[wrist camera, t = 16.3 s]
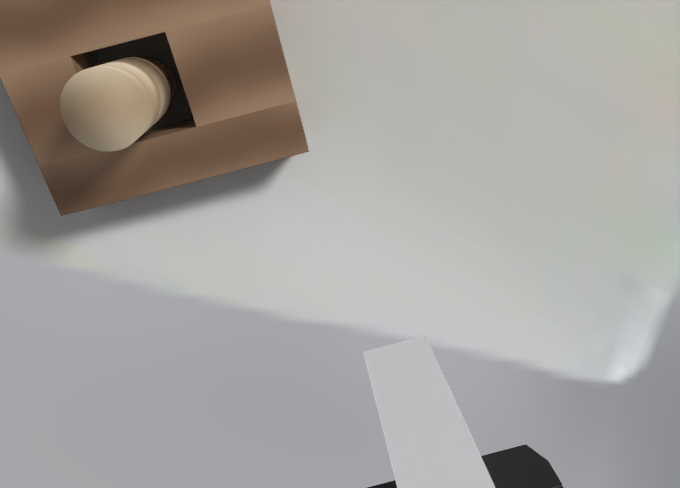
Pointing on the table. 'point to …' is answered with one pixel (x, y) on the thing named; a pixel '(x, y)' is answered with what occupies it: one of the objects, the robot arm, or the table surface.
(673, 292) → the table surface
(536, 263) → the table surface
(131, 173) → the board
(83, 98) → the peg
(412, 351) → the robot arm
